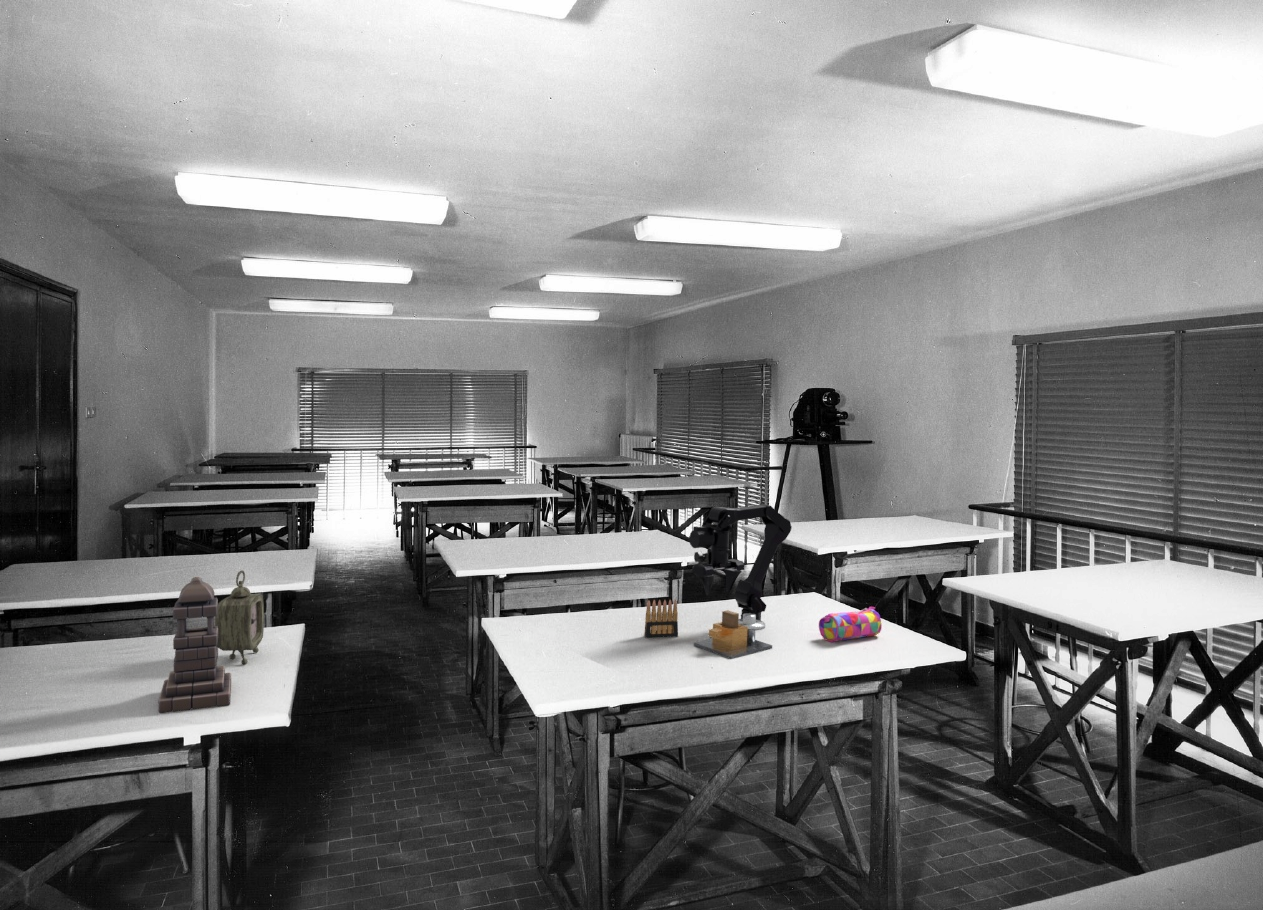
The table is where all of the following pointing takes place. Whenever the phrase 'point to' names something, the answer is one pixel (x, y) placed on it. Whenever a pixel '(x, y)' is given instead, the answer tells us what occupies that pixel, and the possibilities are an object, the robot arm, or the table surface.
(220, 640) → the tabletop clock
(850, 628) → the pencil case
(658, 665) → the table surface
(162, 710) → the miniature tower
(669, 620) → the ammunition clip
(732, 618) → the wedge
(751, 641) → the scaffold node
